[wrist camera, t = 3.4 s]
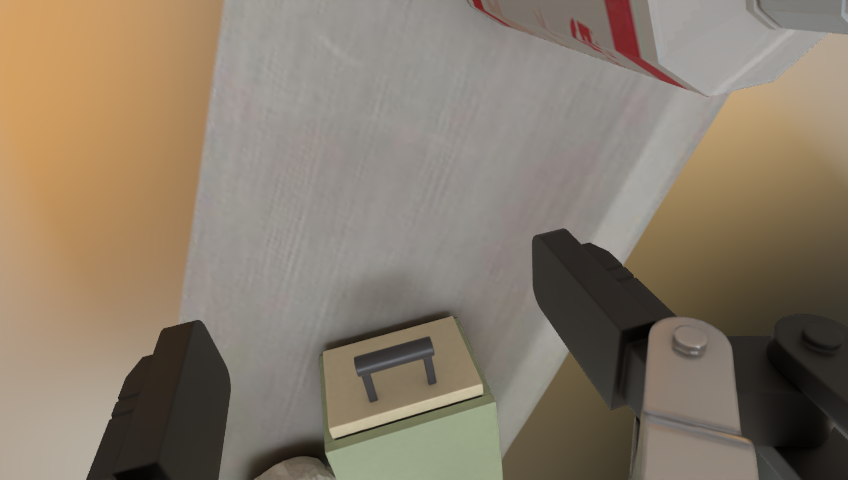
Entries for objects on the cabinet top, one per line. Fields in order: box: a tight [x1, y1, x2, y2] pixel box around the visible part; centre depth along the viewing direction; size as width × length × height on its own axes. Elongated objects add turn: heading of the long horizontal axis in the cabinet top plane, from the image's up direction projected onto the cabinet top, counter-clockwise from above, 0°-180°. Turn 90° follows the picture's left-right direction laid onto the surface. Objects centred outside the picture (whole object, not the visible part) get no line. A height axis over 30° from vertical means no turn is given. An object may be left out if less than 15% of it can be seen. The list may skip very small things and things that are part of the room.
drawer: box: [323, 316, 483, 439], centre depth 40 cm, size 19×11×8 cm, turn 8°
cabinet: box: [319, 318, 503, 480], centre depth 42 cm, size 16×13×10 cm
